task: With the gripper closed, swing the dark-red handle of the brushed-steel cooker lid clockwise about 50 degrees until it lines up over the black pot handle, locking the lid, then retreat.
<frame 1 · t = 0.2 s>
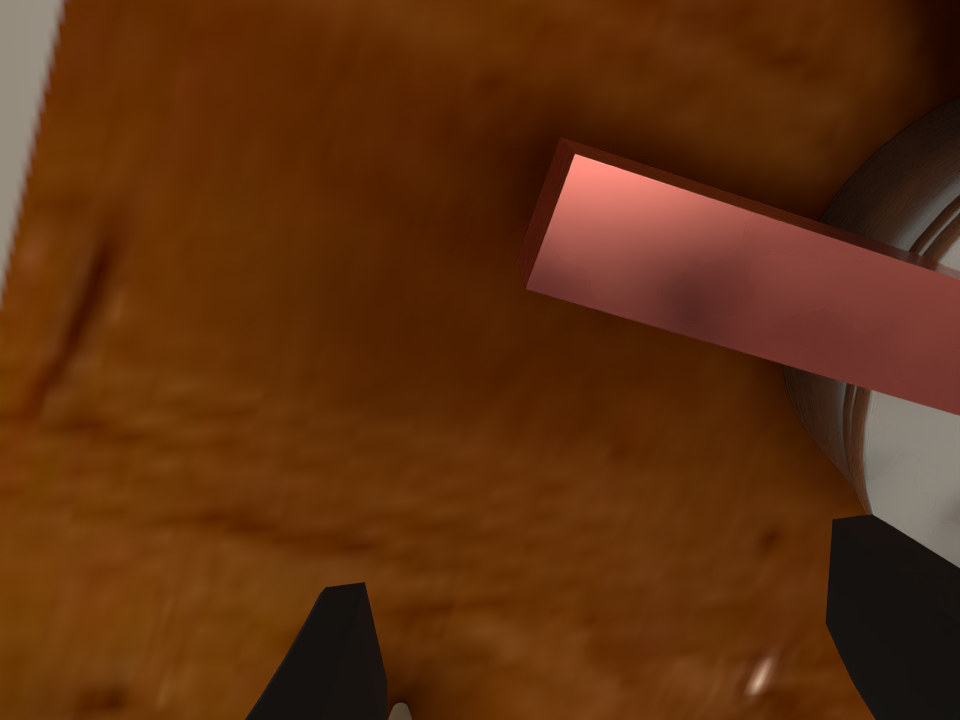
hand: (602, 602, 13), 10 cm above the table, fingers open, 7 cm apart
ice cream cone: (400, 703, 27), on the table
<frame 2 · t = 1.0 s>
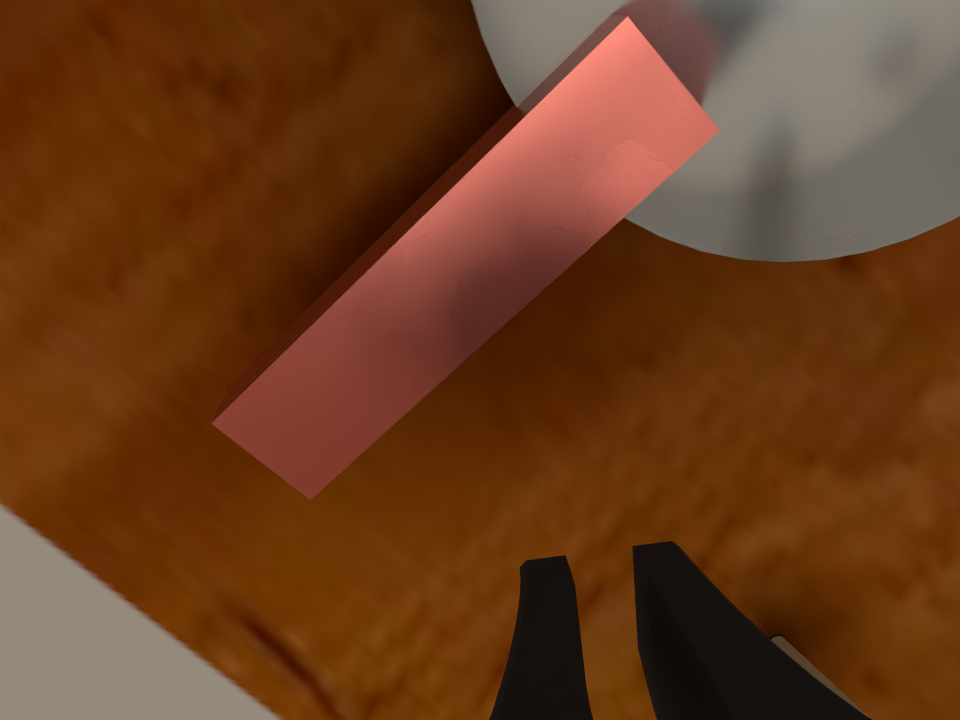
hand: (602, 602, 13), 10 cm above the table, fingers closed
ice cream cone: (774, 637, 28), on the table
lid: (666, 62, 14), point 6 cm above the table, hinge at 5.0°
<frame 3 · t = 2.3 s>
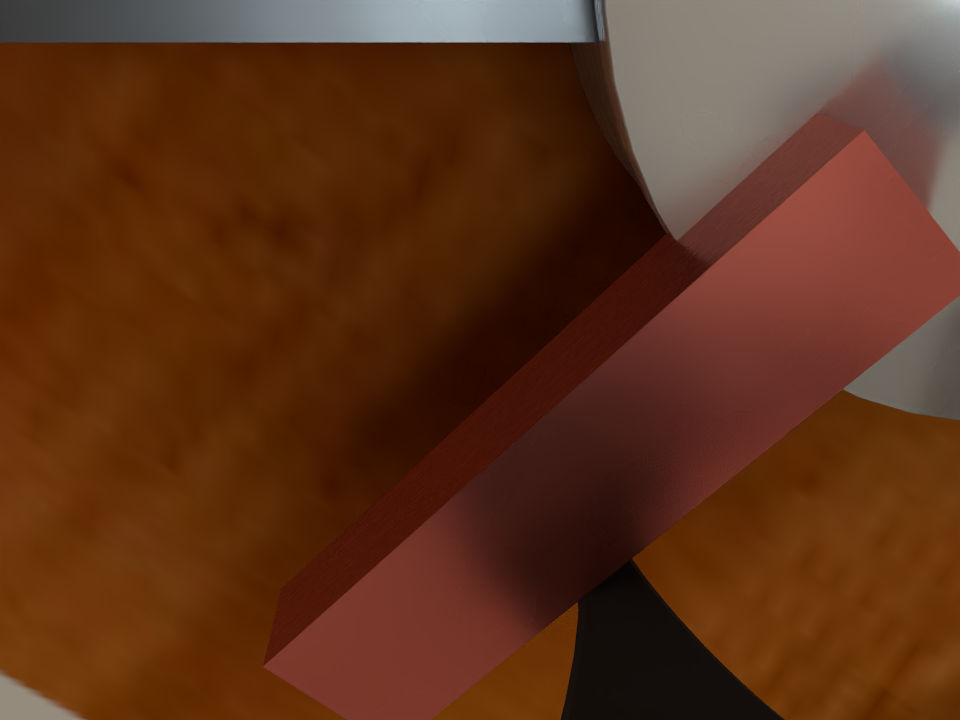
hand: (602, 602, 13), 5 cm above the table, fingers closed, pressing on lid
lid: (890, 177, 10), point 6 cm above the table, hinge at 0.4°, touching gripper
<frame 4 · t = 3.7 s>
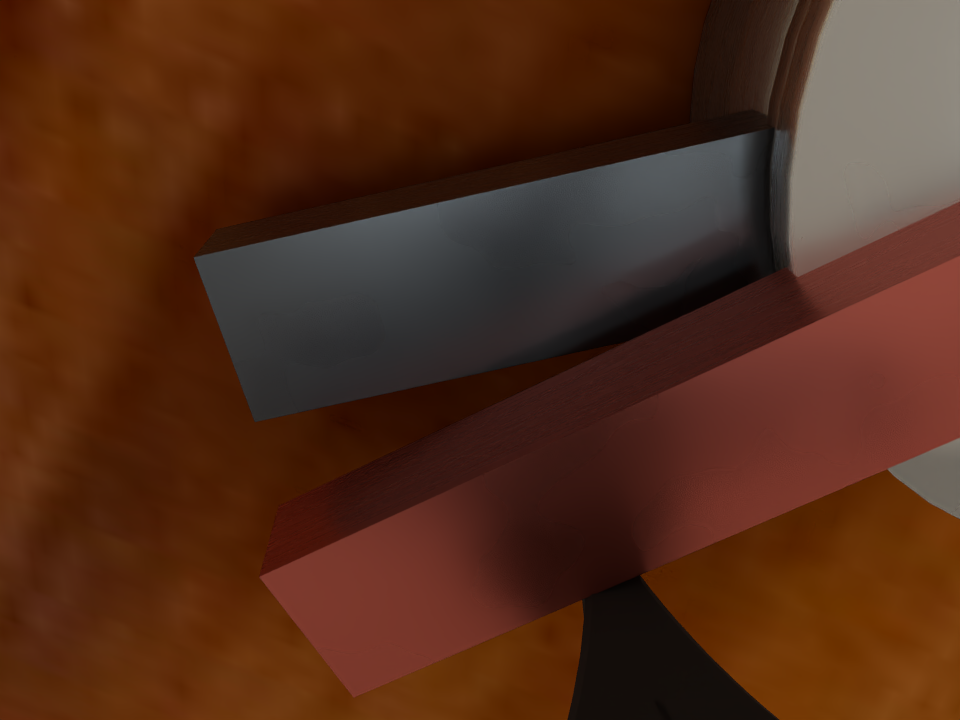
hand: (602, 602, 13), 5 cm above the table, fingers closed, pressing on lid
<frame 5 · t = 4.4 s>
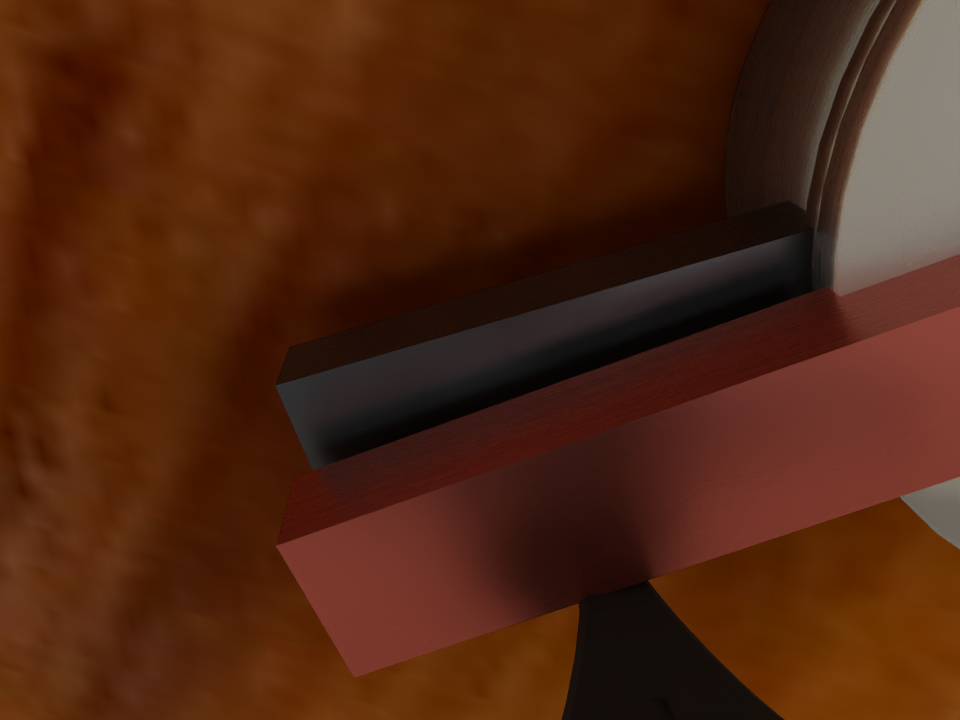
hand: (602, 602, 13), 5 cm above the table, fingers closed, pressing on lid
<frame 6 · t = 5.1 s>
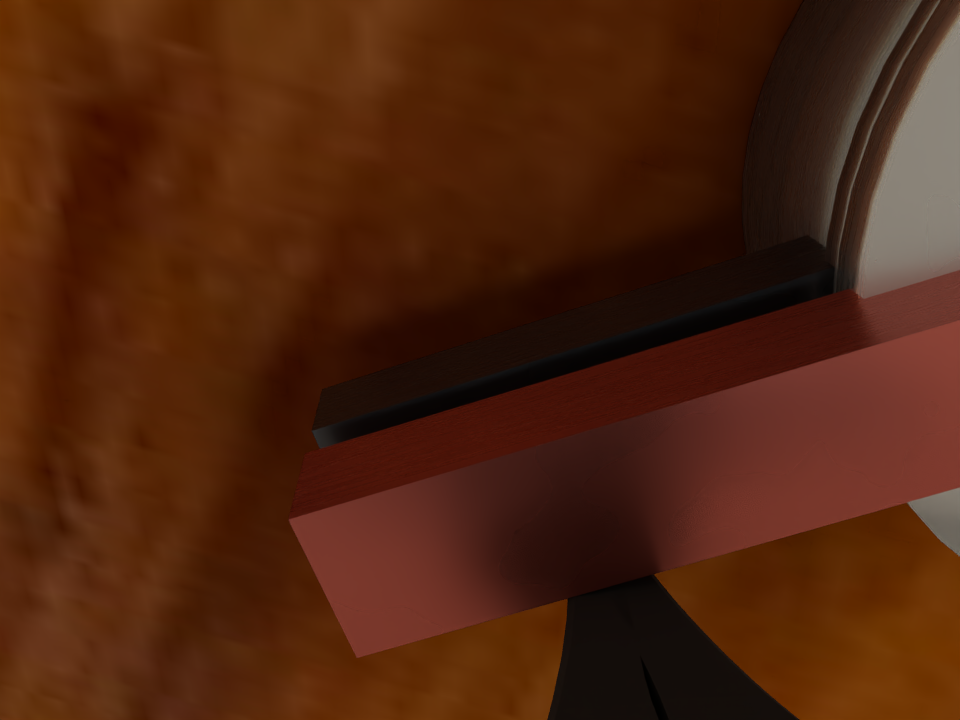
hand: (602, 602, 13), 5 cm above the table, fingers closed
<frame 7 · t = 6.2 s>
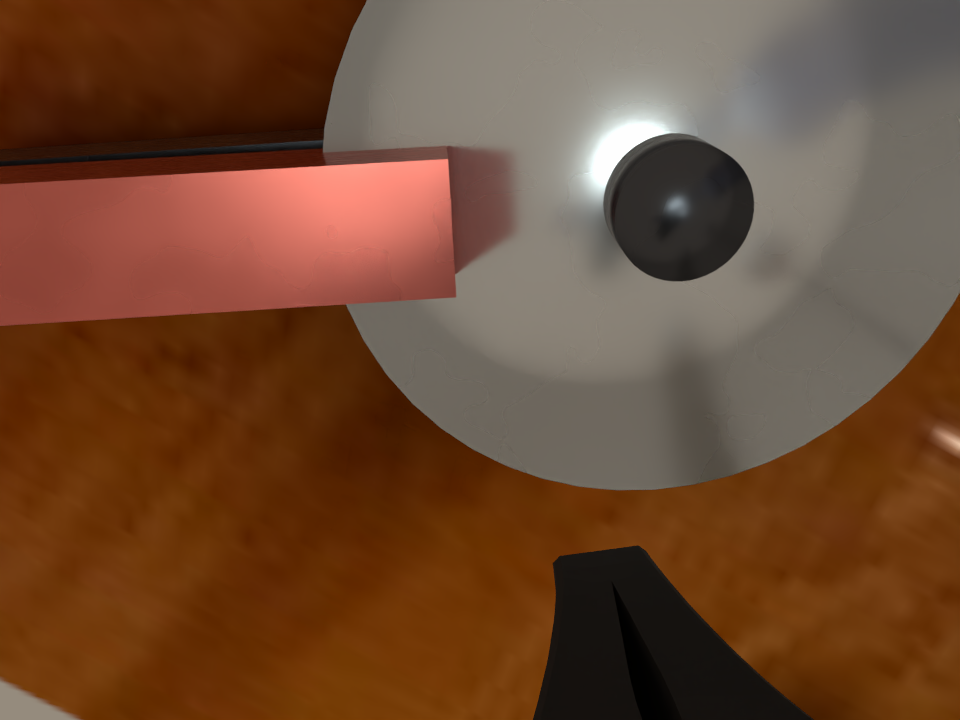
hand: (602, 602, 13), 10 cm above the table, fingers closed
pot: (609, 145, 20), on the table
lid: (459, 214, 15), point 6 cm above the table, hinge at -45.6°
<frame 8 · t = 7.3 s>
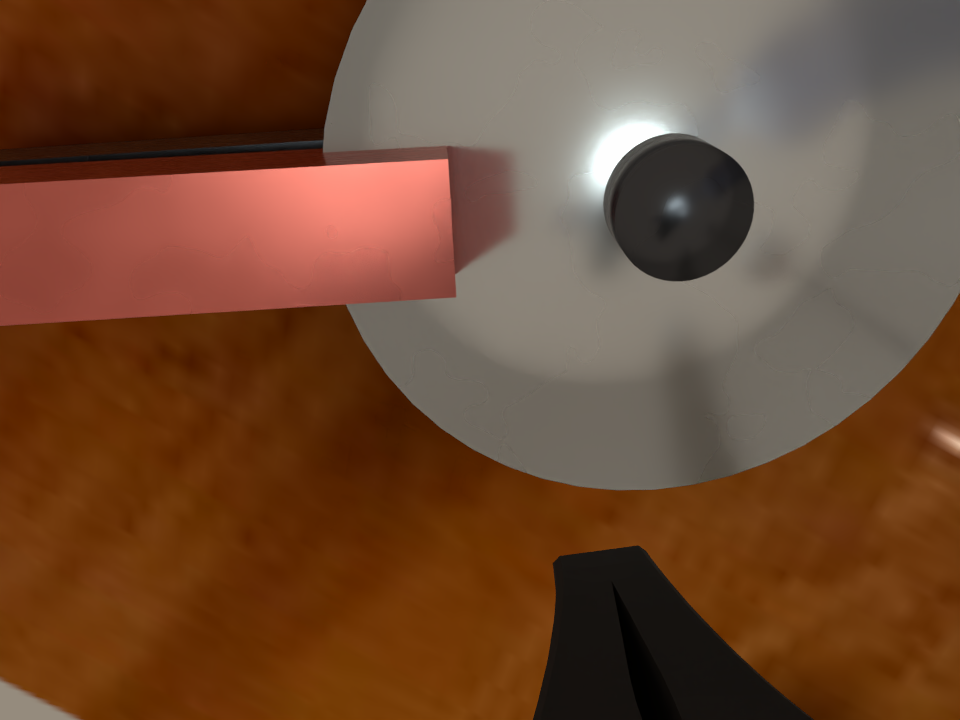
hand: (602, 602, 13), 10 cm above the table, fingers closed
pot: (609, 145, 20), on the table
lid: (459, 214, 15), point 6 cm above the table, hinge at -45.6°
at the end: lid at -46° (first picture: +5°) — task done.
